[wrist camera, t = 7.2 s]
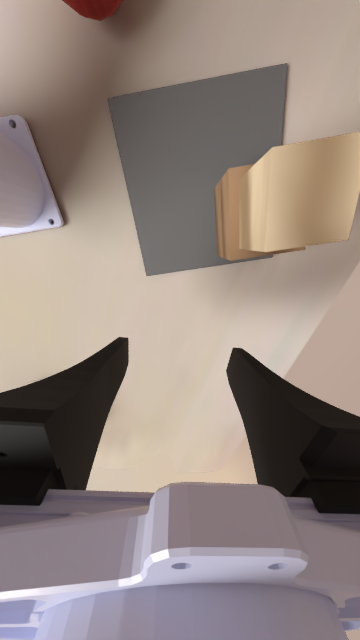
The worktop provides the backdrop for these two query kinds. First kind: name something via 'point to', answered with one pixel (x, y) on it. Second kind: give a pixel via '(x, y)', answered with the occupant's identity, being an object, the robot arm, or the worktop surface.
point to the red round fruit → (94, 7)
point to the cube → (300, 194)
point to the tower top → (236, 217)
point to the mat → (192, 158)
